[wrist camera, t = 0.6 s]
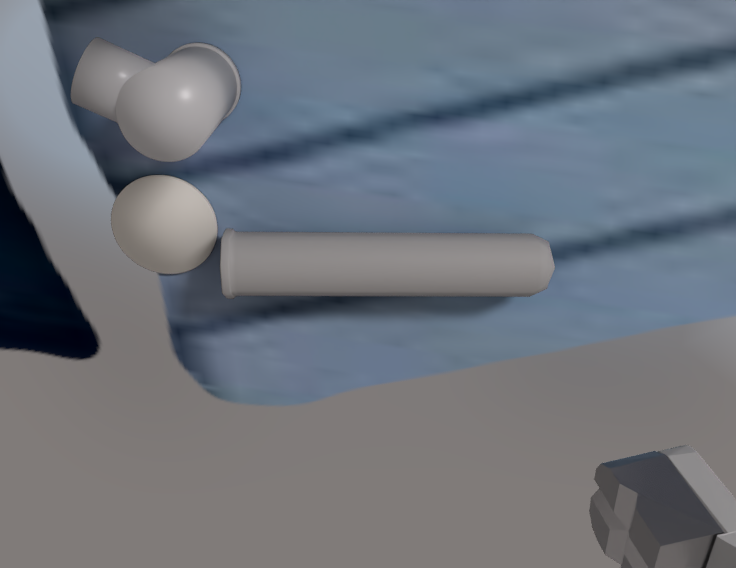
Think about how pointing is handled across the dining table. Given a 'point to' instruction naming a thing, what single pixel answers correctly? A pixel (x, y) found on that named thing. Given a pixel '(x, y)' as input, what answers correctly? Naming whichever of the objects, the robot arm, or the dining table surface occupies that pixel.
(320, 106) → the dining table surface
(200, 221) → the flange
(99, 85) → the elbow
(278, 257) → the tube
